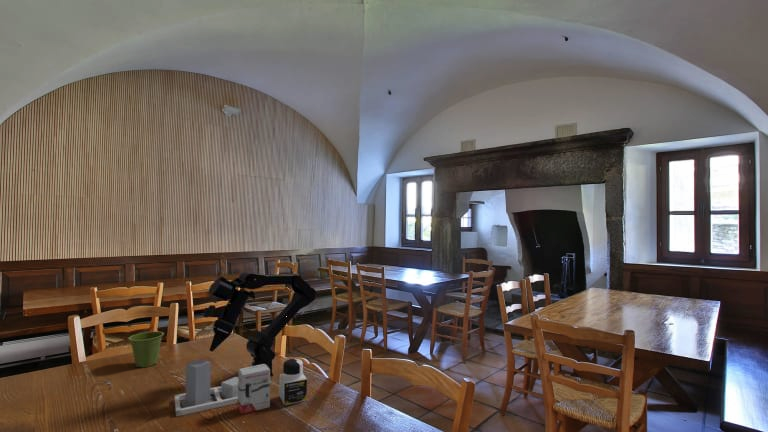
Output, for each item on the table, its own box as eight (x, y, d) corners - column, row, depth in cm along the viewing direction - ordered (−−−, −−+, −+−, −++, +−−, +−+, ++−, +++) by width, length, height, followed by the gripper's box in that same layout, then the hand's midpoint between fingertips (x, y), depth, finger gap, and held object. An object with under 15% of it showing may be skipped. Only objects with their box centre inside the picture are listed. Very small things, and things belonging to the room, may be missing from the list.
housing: (247, 385, 134) (247, 380, 134) (255, 399, 124) (255, 394, 124) (174, 400, 123) (174, 395, 123) (176, 416, 113) (176, 411, 113)
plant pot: (155, 356, 162) (155, 329, 162) (169, 363, 155) (169, 334, 155) (122, 365, 152) (123, 336, 152) (136, 372, 145) (136, 342, 145)
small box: (235, 390, 130) (235, 375, 130) (247, 394, 128) (247, 379, 128) (220, 397, 125) (220, 382, 126) (232, 401, 123) (232, 386, 123)
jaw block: (200, 396, 125) (200, 359, 125) (210, 400, 122) (210, 362, 122) (185, 403, 120) (185, 363, 120) (195, 407, 118) (195, 367, 118)
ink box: (241, 415, 114) (241, 374, 114) (237, 408, 118) (237, 368, 118) (270, 407, 119) (270, 368, 119) (265, 400, 123) (265, 363, 123)
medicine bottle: (284, 405, 120) (284, 366, 120) (279, 396, 126) (279, 359, 126) (307, 400, 123) (307, 362, 123) (300, 392, 129) (301, 355, 130)
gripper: (214, 297, 143) (191, 338, 138) (211, 295, 126) (184, 342, 121) (243, 309, 146) (221, 350, 140) (243, 309, 128) (219, 356, 123)
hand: (211, 349), depth 131 cm, fingers open, 9 cm apart
